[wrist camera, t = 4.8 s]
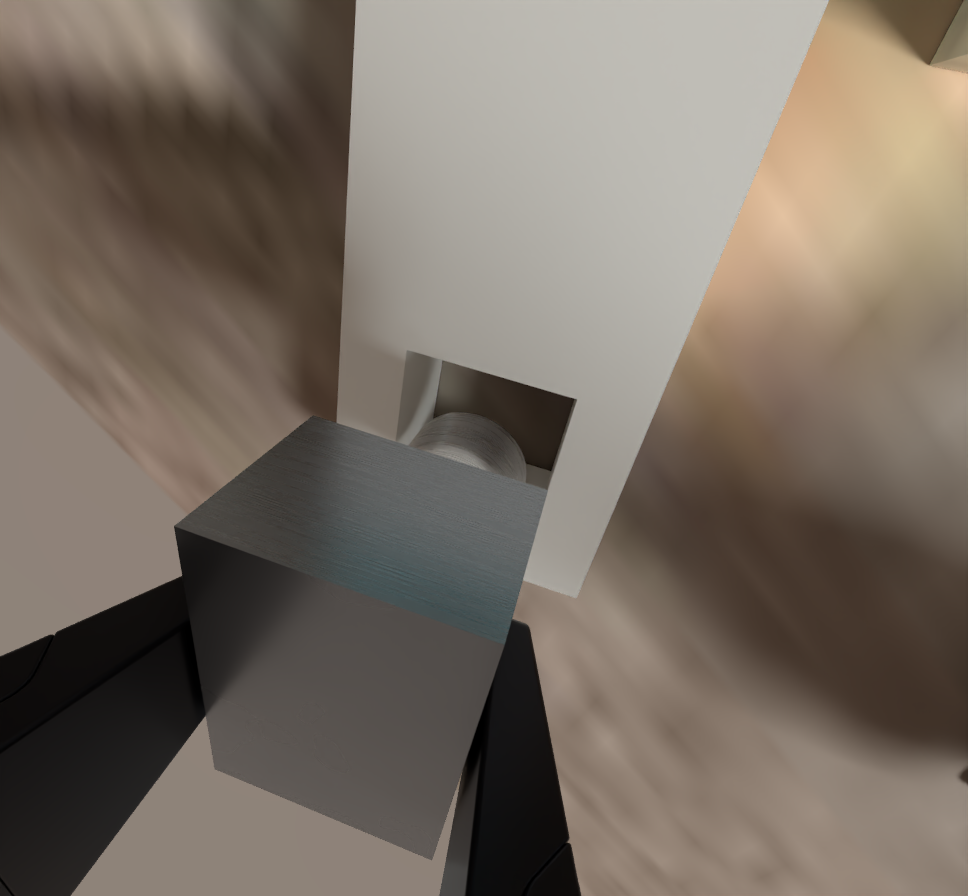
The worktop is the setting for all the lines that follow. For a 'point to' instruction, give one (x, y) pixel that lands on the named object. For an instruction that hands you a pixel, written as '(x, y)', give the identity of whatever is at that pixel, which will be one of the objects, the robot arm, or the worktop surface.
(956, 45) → the frame
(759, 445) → the worktop surface
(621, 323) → the dock
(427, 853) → the gray rectangular block
